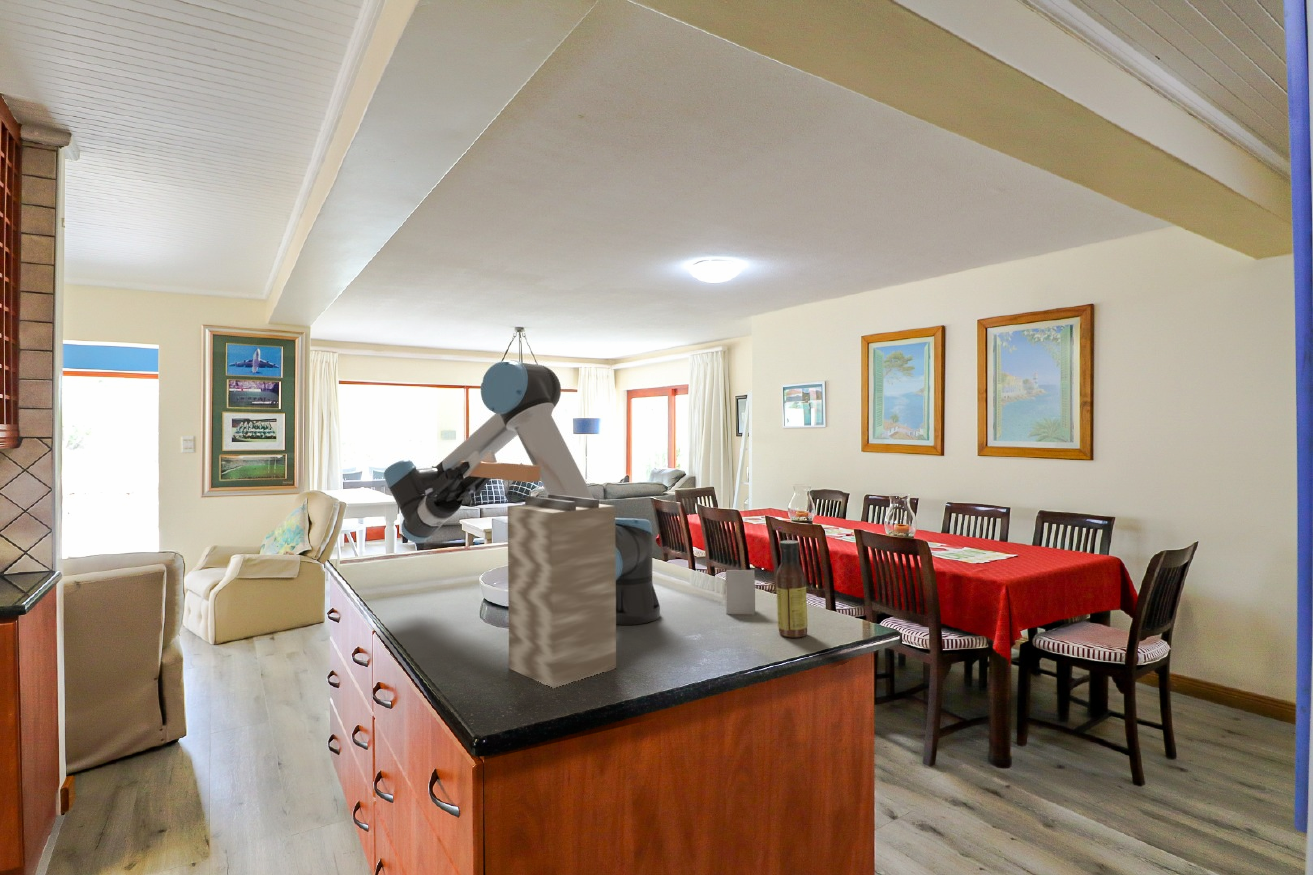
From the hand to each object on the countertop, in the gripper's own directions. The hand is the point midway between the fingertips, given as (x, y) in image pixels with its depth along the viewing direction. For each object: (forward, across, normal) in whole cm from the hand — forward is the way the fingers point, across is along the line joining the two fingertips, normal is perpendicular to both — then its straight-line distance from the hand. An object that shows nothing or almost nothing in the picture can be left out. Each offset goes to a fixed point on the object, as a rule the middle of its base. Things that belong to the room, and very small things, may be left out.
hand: (485, 456), depth 146 cm
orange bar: (+2, 0, -6) cm, 6 cm away
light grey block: (+3, -53, -46) cm, 70 cm away
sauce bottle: (+19, -47, -55) cm, 75 cm away
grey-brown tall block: (+4, 0, -46) cm, 47 cm away
